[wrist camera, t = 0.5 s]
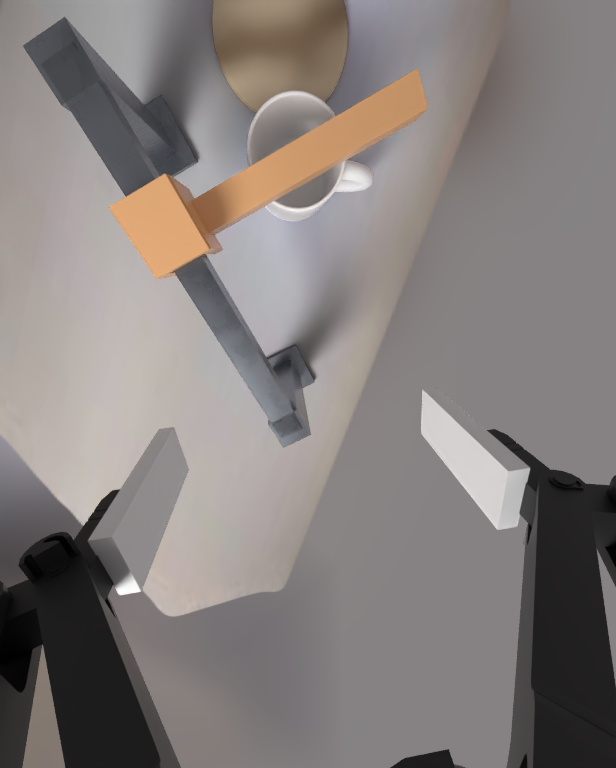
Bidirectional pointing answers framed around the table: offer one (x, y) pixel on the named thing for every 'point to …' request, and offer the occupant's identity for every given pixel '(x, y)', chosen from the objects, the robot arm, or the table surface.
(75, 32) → the rail frame
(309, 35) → the coaster
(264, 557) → the table surface
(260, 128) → the mug
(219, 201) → the orange bar
